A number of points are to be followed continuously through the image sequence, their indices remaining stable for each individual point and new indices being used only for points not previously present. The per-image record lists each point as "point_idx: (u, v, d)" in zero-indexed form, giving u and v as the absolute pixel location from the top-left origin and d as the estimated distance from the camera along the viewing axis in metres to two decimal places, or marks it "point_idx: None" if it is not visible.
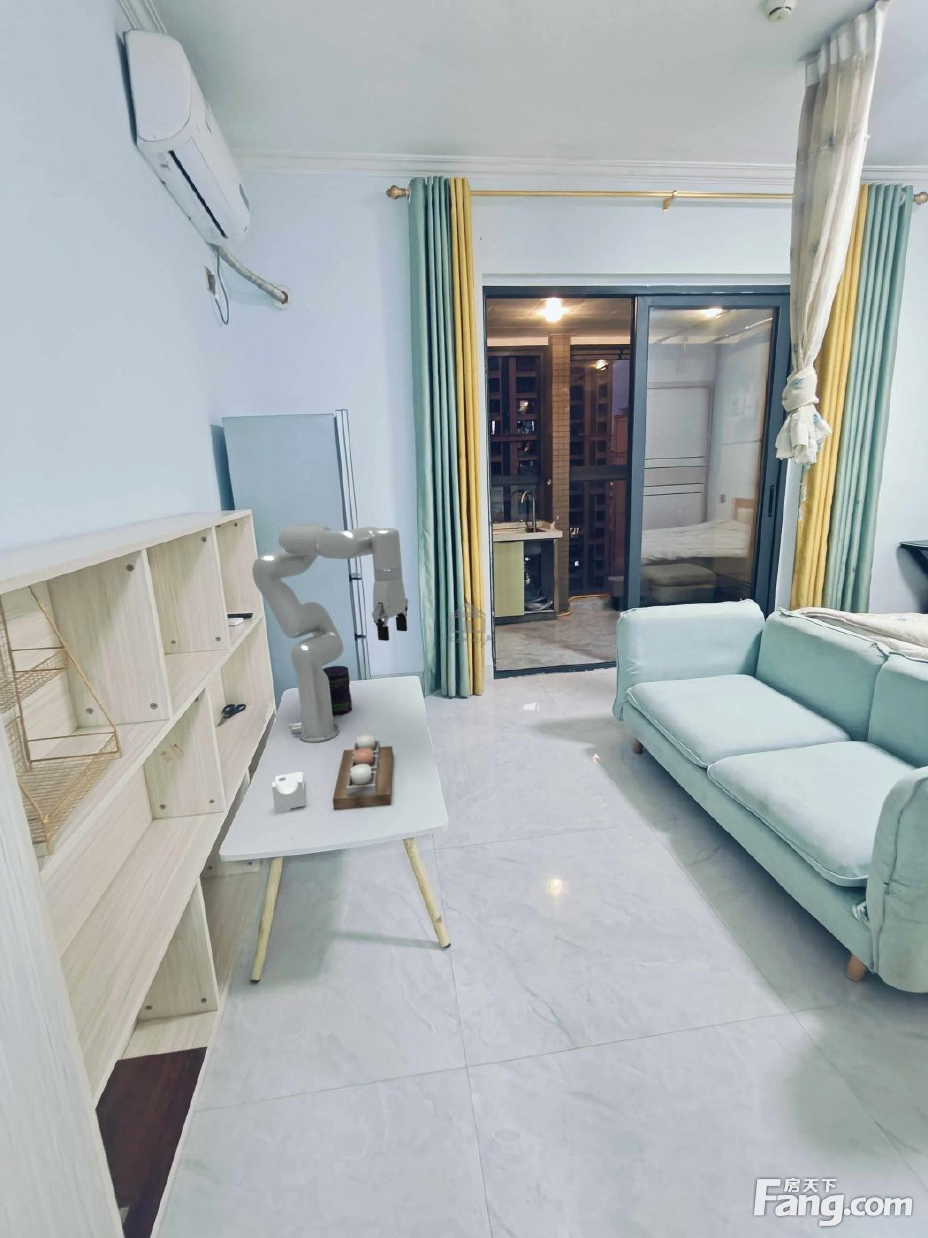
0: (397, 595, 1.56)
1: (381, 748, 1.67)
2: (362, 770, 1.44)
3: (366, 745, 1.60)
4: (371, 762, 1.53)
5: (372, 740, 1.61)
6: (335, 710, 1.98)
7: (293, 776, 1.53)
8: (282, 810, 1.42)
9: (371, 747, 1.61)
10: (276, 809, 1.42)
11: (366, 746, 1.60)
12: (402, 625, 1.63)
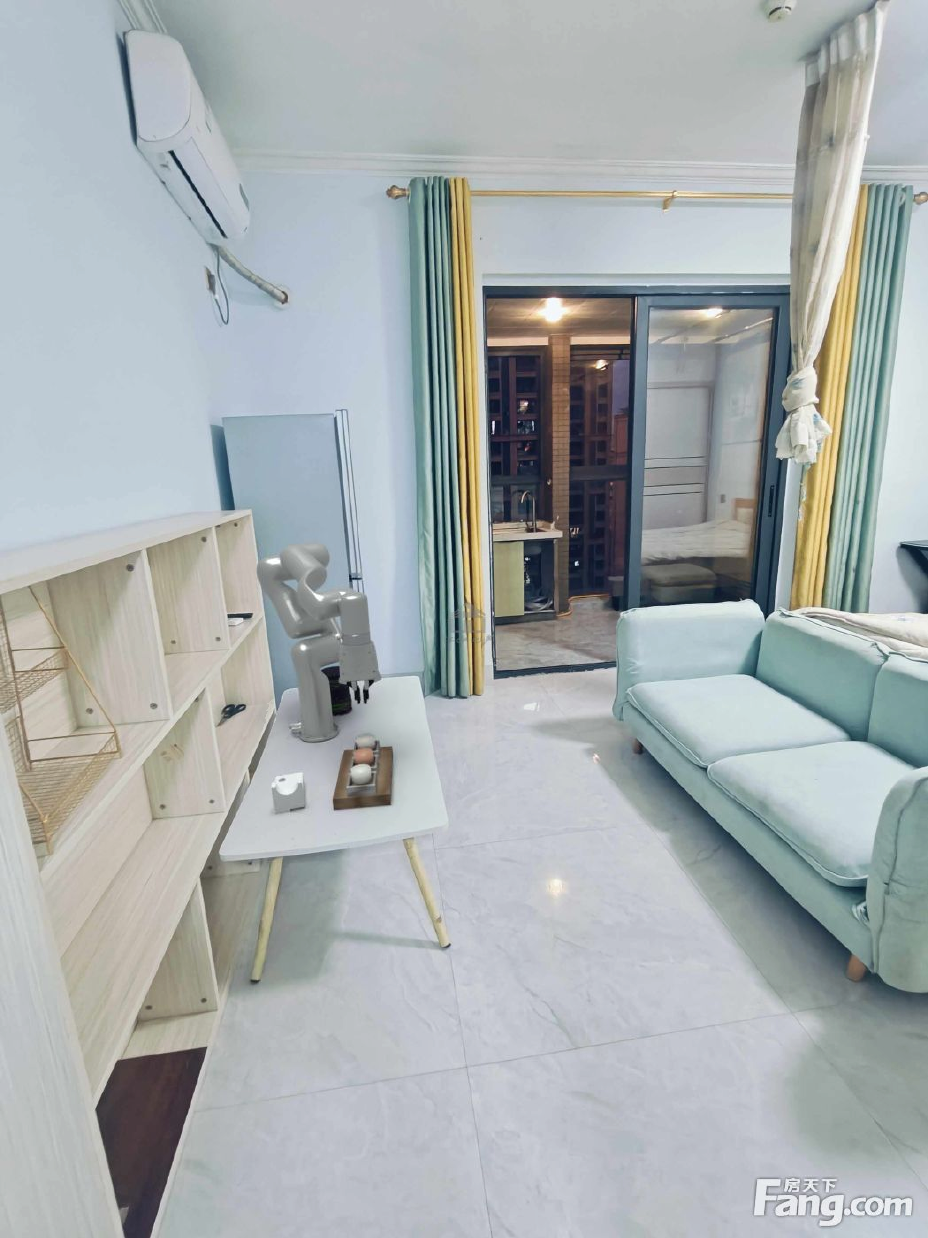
0: None
1: (381, 748, 1.67)
2: (362, 770, 1.44)
3: (366, 745, 1.60)
4: (371, 762, 1.53)
5: (372, 740, 1.61)
6: (335, 710, 1.98)
7: (293, 777, 1.52)
8: (281, 811, 1.42)
9: (371, 747, 1.61)
10: (276, 810, 1.42)
11: (366, 746, 1.60)
12: None
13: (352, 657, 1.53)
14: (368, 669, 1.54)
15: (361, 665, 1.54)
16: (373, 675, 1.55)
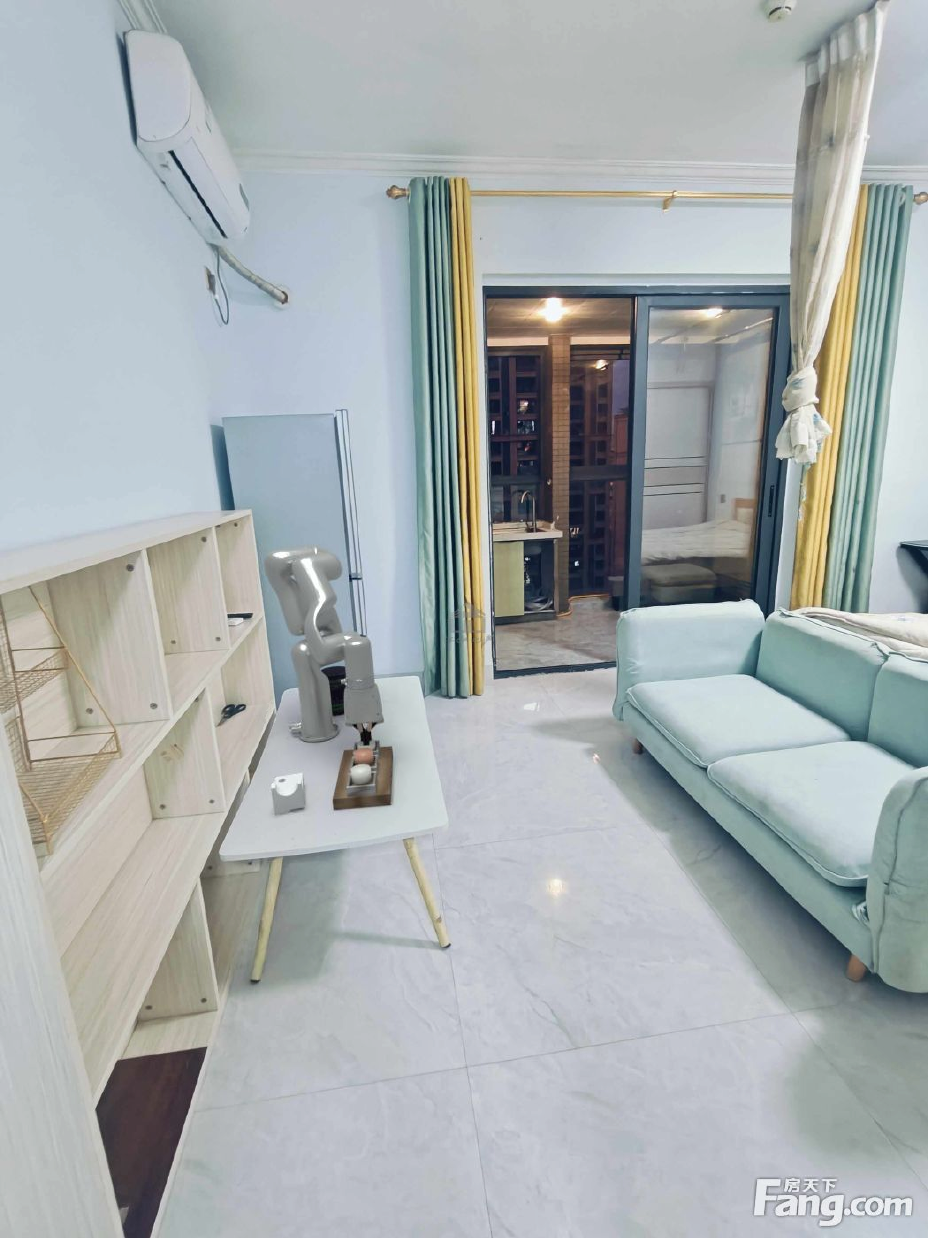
0: None
1: (381, 748, 1.67)
2: (362, 770, 1.44)
3: None
4: (371, 762, 1.53)
5: (373, 746, 1.61)
6: (335, 710, 1.98)
7: (293, 777, 1.52)
8: (281, 812, 1.42)
9: None
10: (275, 811, 1.41)
11: None
12: None
13: (356, 700, 1.56)
14: (372, 712, 1.57)
15: (365, 708, 1.57)
16: (377, 718, 1.58)
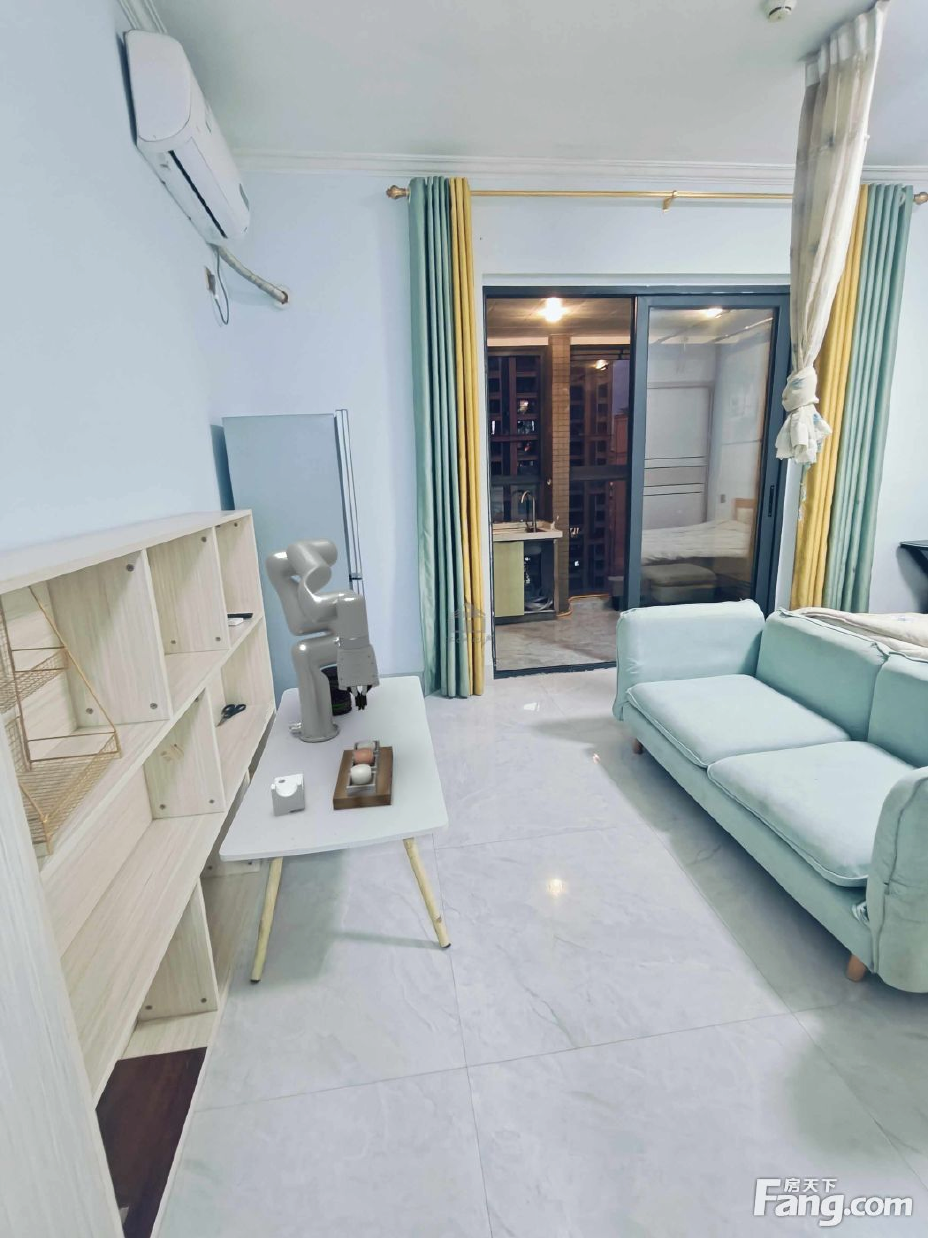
0: None
1: (381, 748, 1.67)
2: (362, 770, 1.44)
3: None
4: (371, 762, 1.53)
5: (373, 747, 1.61)
6: (335, 710, 1.98)
7: (293, 778, 1.52)
8: (281, 813, 1.41)
9: None
10: (275, 811, 1.41)
11: None
12: None
13: (351, 661, 1.47)
14: (367, 674, 1.48)
15: (360, 670, 1.48)
16: (373, 680, 1.49)
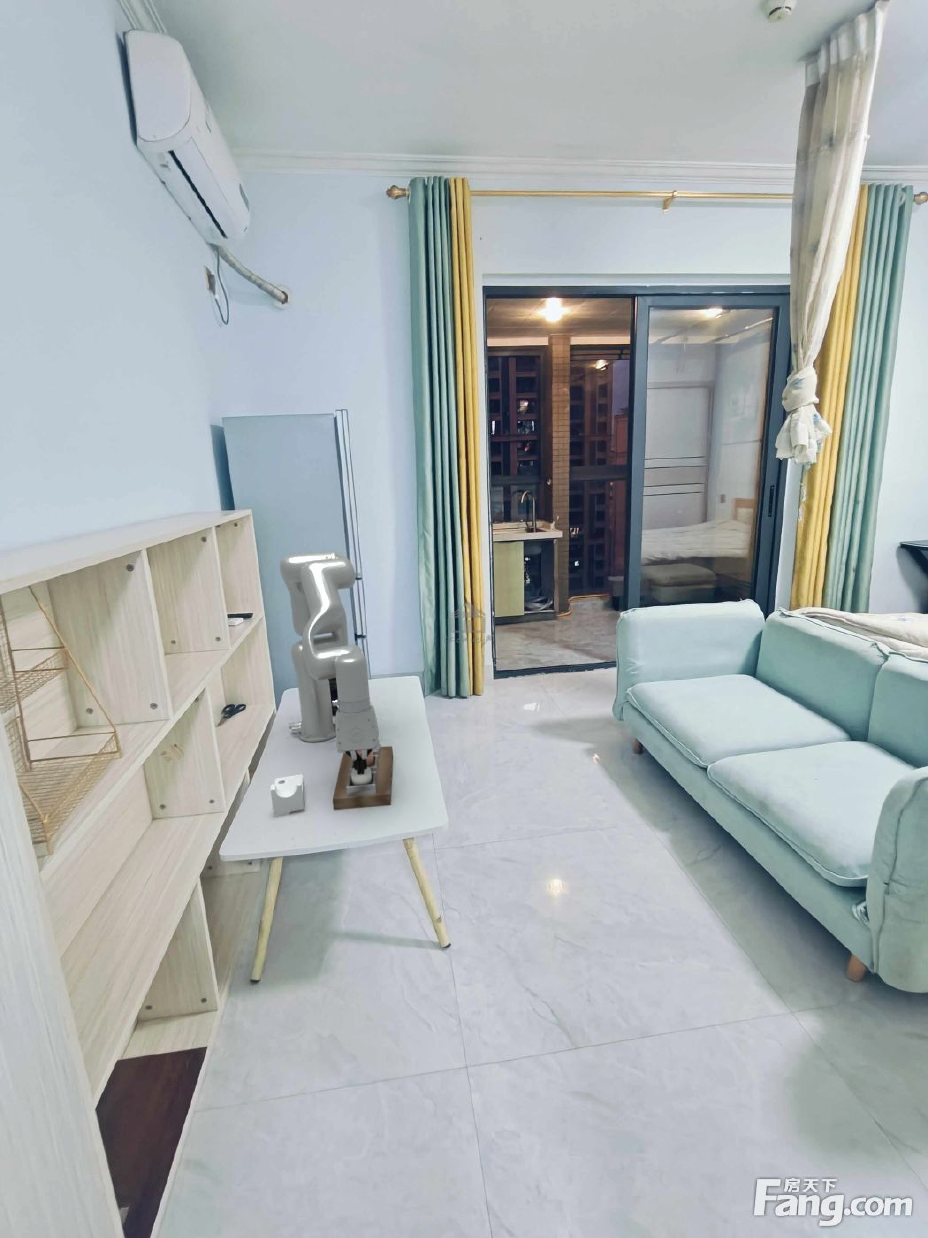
0: None
1: (381, 748, 1.67)
2: None
3: None
4: (371, 762, 1.53)
5: None
6: (335, 710, 1.98)
7: (293, 779, 1.51)
8: (280, 814, 1.41)
9: None
10: (275, 812, 1.40)
11: None
12: None
13: (350, 725, 1.39)
14: (367, 738, 1.40)
15: (360, 734, 1.39)
16: (373, 744, 1.40)
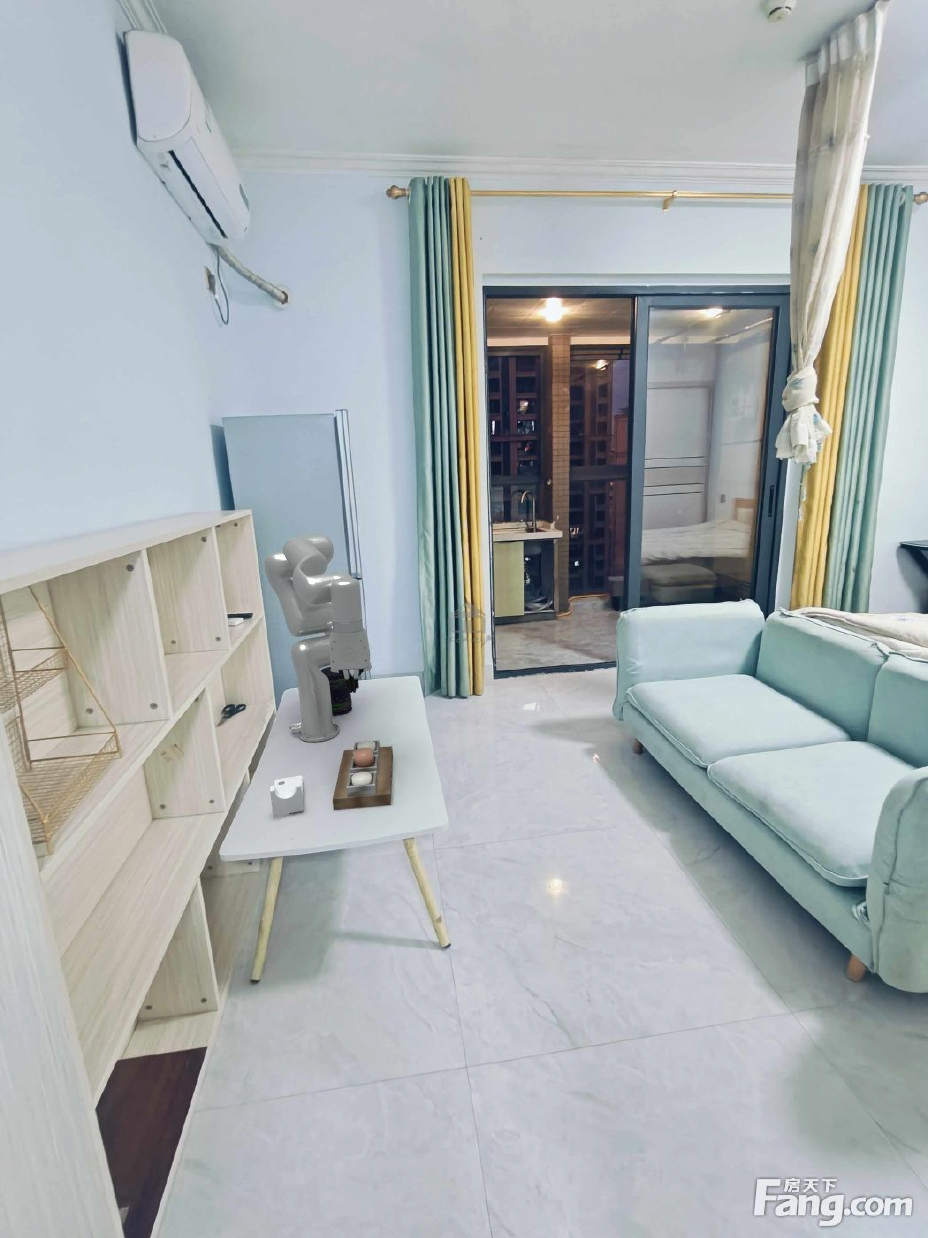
0: None
1: (381, 748, 1.67)
2: (363, 778, 1.45)
3: None
4: (371, 762, 1.53)
5: (373, 747, 1.61)
6: (335, 710, 1.98)
7: (292, 780, 1.51)
8: (280, 815, 1.40)
9: None
10: (274, 814, 1.40)
11: None
12: None
13: (343, 645, 1.47)
14: (359, 658, 1.49)
15: (352, 653, 1.48)
16: (364, 664, 1.50)
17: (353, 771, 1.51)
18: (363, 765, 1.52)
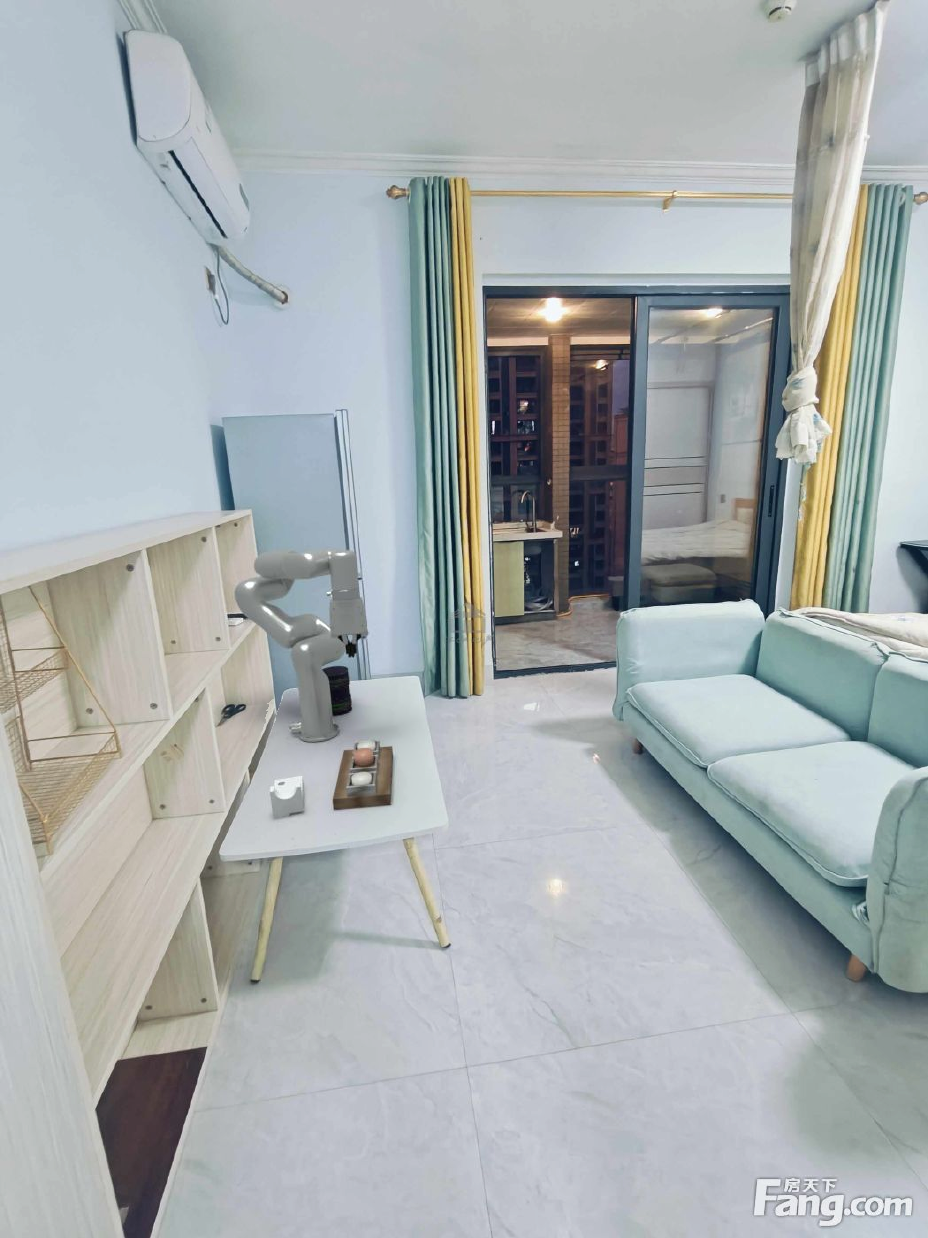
0: None
1: (381, 748, 1.67)
2: (363, 778, 1.45)
3: None
4: (371, 762, 1.53)
5: (373, 747, 1.61)
6: (335, 710, 1.98)
7: (292, 780, 1.51)
8: (280, 816, 1.40)
9: None
10: (274, 814, 1.40)
11: None
12: None
13: (341, 611, 1.61)
14: (357, 623, 1.62)
15: (350, 619, 1.62)
16: (362, 629, 1.63)
17: (353, 771, 1.51)
18: (363, 765, 1.52)
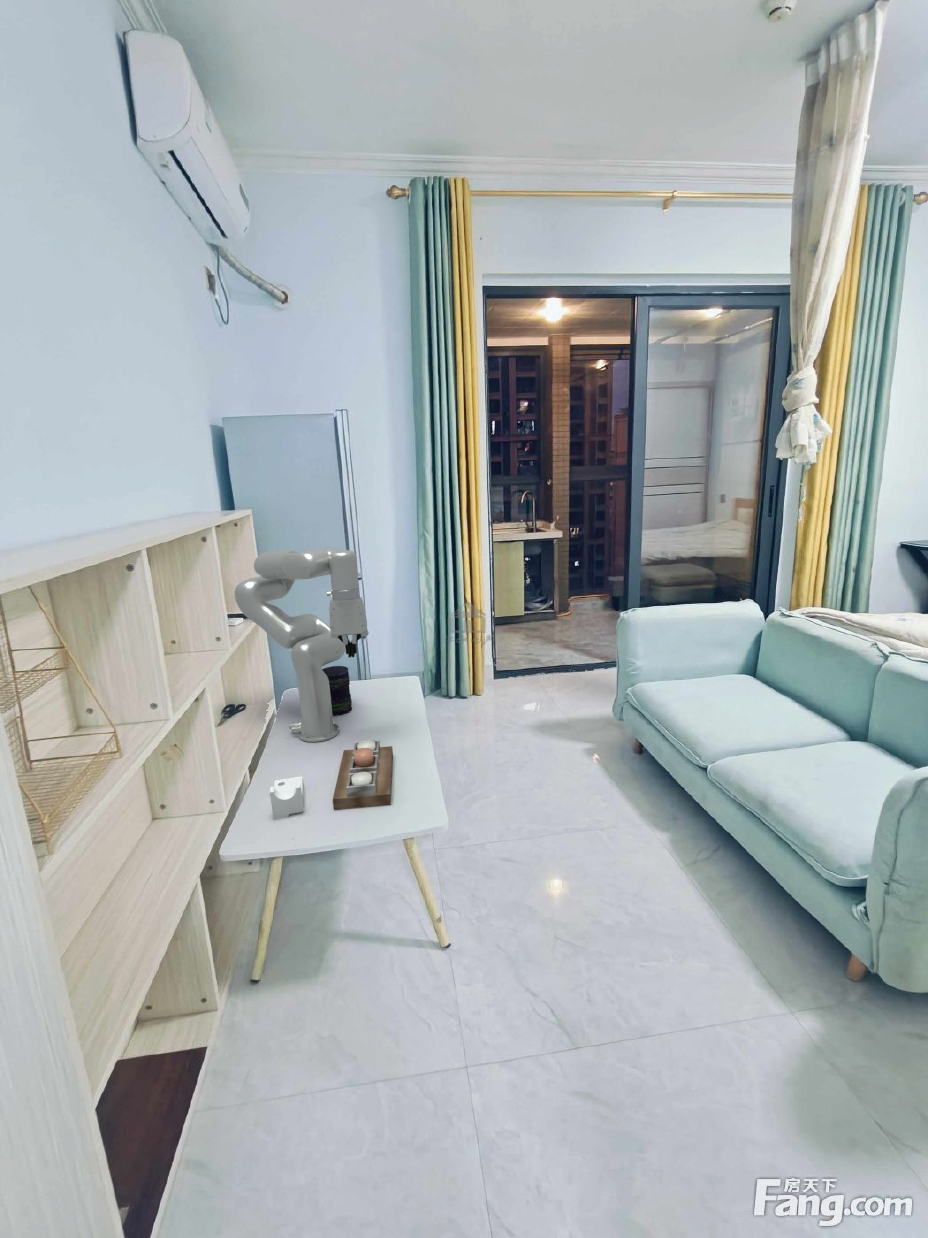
0: None
1: (381, 748, 1.67)
2: (363, 778, 1.45)
3: None
4: (371, 762, 1.53)
5: (373, 747, 1.61)
6: (335, 710, 1.98)
7: (292, 781, 1.50)
8: (280, 816, 1.40)
9: None
10: (274, 815, 1.39)
11: None
12: None
13: (341, 611, 1.61)
14: (357, 623, 1.62)
15: (350, 619, 1.62)
16: (362, 629, 1.63)
17: (353, 771, 1.51)
18: (363, 765, 1.52)
